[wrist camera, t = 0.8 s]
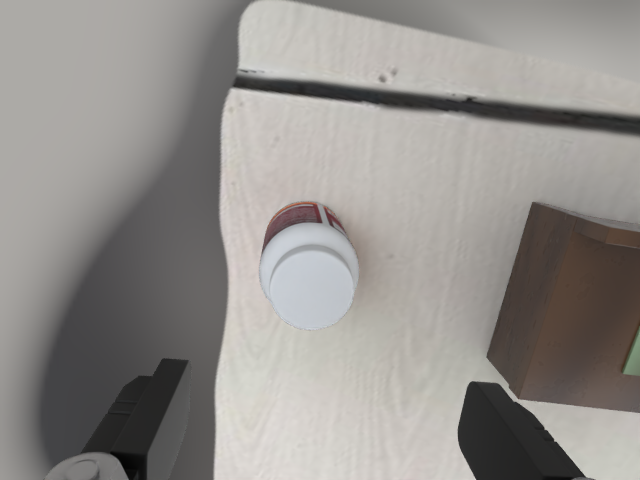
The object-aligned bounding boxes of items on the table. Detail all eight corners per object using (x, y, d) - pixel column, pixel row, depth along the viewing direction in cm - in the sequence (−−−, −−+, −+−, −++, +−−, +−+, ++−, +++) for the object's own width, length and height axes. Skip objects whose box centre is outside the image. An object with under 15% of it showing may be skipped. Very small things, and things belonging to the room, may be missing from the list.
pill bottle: (255, 263, 34) (239, 326, 23) (278, 189, 33) (271, 221, 22) (330, 284, 35) (346, 354, 24) (355, 213, 33) (384, 255, 23)
